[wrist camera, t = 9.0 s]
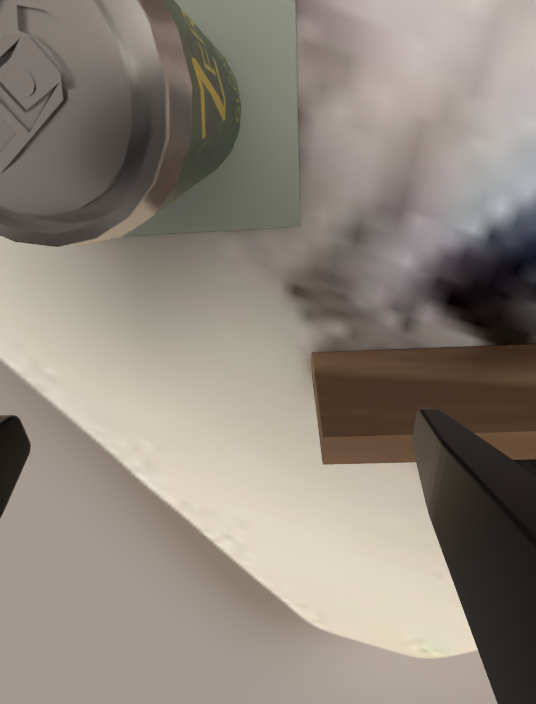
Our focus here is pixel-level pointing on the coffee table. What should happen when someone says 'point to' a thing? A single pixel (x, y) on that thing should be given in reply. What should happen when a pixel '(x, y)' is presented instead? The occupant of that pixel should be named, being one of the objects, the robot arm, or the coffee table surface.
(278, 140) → the mat
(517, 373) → the stand
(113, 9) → the beer can
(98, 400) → the coffee table surface
